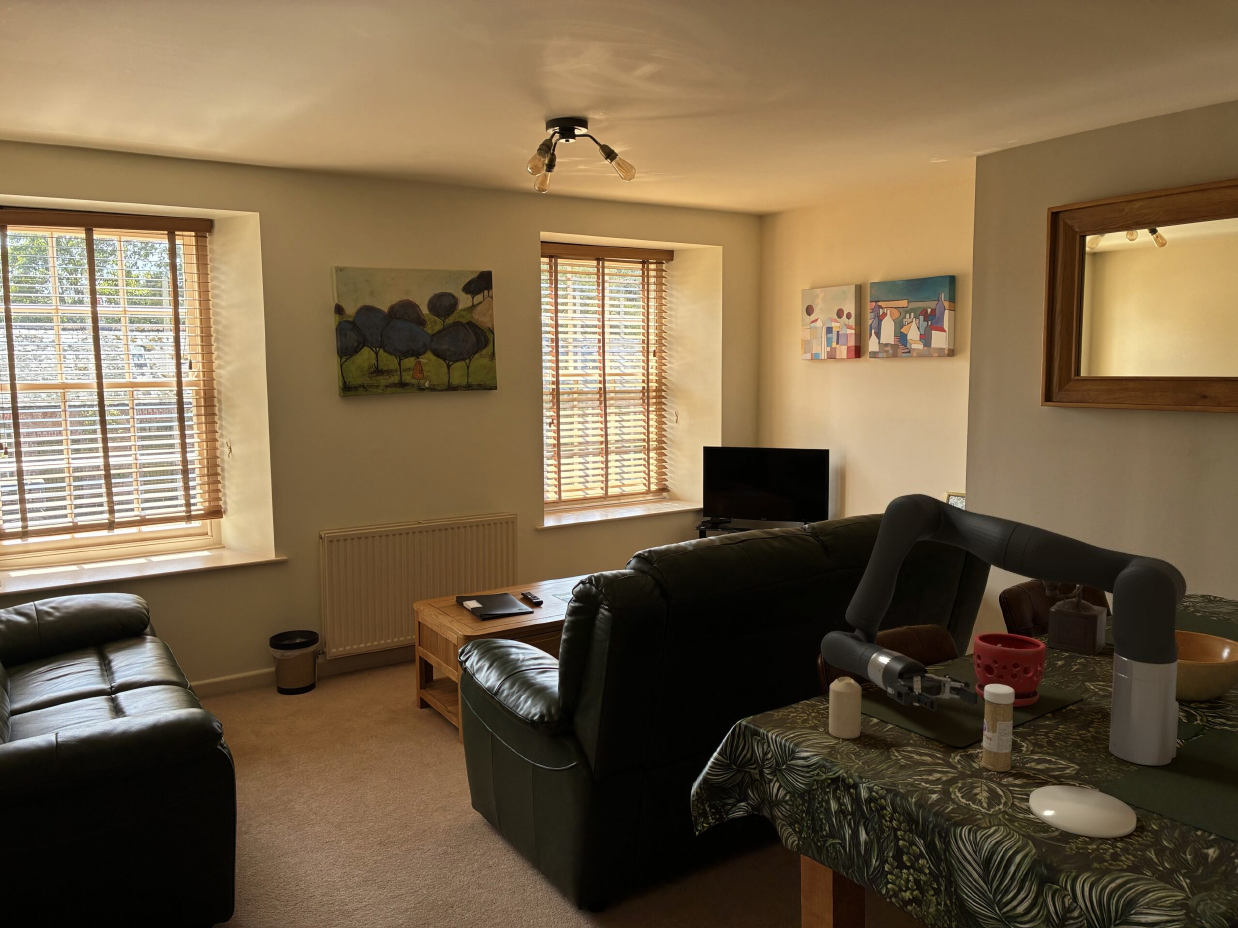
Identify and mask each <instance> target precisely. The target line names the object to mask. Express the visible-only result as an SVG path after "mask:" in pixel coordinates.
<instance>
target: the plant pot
mask: <svg viewBox="0 0 1238 928" xmlns="http://www.w3.org/2000/svg"><path fill="white" fill-rule="evenodd" d="M973 640H974V641H973V651H972V652H973V655H972V656H973V657H972V658H973V666H974V671H975V675H976V677H977V680H978V682H977V683H976V685H975V692H976V693H977V695H978V696H980V697H981V698H983V700H985V698H984V689H985V686H986V685H989V684H1001V685H1006V686H1009V687H1011V688H1012V689H1014V692H1015V694H1014V703H1013V707H1025V706H1029V705H1033V704H1035V703H1036V702H1037V701H1038V700H1039V697H1040V693H1039V691H1037V690H1036V689H1037V688H1038V686H1039V684H1040V682H1041V681H1042V679H1043V675H1044V670H1045V664H1046V655H1047V645H1046V644H1045V643H1044V642H1042V641H1041V640H1039V639H1037V638H1032V637H1028V636H1026V635H1025V636H1024V635H1019V634H1014V633H1002V632H1001V633H1000V632H989V633H987V632H986V633H979V634H977V635H975V637H974V639H973ZM1000 645H1001V646H1000Z"/></svg>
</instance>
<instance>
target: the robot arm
mask: <svg viewBox="0 0 1238 928" xmlns="http://www.w3.org/2000/svg"><path fill="white" fill-rule="evenodd" d="M881 519H882V520H881V522H880V527H879V529H878V533H877V538H876V540H875V543H874V546H873V548H872V549H873V550H872V552H871V555H870V558H869V561H868V564H867V567H866V568H865V571H864V573H863V576H862V577H861V580H860V582H859V584H858V587H857V589H856V590H855V592H854V595H853V596H852V598H851V601H850V603H849V605H848V607H847V608H846V612H845V620H846V622H847V623H848V624H849V625H850V626H852V627H853V628H855V631H854V633H853V632H847V631H846V632H845V631H841V630H832V631H830V632H828V633H827V634H825V636H824V637H823V638H822V640H821V643H820V652H821V655H822V657H823V659H824V660H825V661H826V662H827V663H828V664H830V665H831V666H833V667H835V668H837V669H841V670H842V671H848V672H849V673H853V674H857V675H858V676H861V677H863V679H866V680H868V681H870V682H872V683H874V684H875V685H877V686H878V687H879V688H881V689H882V690H884V691H886V693H887V694H886V695H887V696H888V697H889V698H891V699H893V700H895V701H896V702H897V703H900V704H902V705H903V706H905V707H906V706H911V704H913V705H914V706H921V707H923V708H925V709H927V710H929V711H931V712H937V711H938V710H939V705H938V704H939V700H938V699H937V698H941V699H946V700H948V699H950V698H956V699H959V700H961V701H963V702H966V703H968V704H970V705H972V706H974V705H977V704H978V700H979V699H978V697H979V694H978V693H977V691H974V690H972V689H970V685H971V682H970V681H968V680H966V679H963V678H961V677H959V676H955V675H953V674H952V673H948V672H945V673H943V677H942V676H941V677H940V676H936V675H935V674H931V673H929V671H928V670H927V668H926V667H925V665H924V664H923V663H921V662H920V661H918V660H915V659H913V658H911V657H908V656H906V655H904V654H902V653H900V652H898V651H893V650H890V649H888V648H886V647H883V646H881V645H878V644H877V639H878V633H879V627H880V624H881V623H882V622H883V621H882V620H883V619H884V617H885V614H886V612H887V611H888V609H889V607H890V605H891V602H892V600H893V597H894V594H895V591H896V583H897V578H898V574H899V571H900V568H901V566H902V563H903V562H904V560H905V558H906V556H907V555H908V554H909V552H910V551H911V549H912V547H914V546H915V544H916V543H917V542H920V541H931V542H938V543H942V544H947V545H950V546H954V547H958V548H960V549H963V550H965V551H968V552H970V553H971V554H973V555H975V556H976V557H977V558H979V559H980V560H982V561H984V562H986V563H987V564H990V565H991V566H993V567H995V568H997V569H1001V570H1003V571H1005V572H1009V573H1012V574H1016V575H1018V576H1022V577H1025V578H1028V579H1032V580H1037V581H1042V582H1043V581H1048V582H1057V583H1061V584H1067V585H1083V587H1088V588H1089V587H1090V588H1093V589H1097V590H1100V591H1103V592H1106V593H1109V594H1111V595H1112V603H1111V604H1112V606H1111V607H1112V608H1111V634H1112V639H1113V643H1114V648H1113V649H1114V650H1113V652H1114V653H1113V667H1112V668H1113V669H1112V670H1113V671H1112V690H1111V691H1112V692H1111V707H1110V708H1111V709H1110V727H1109V728H1110V729H1109V740H1108V741H1109V744H1108V745H1109V746H1108V750H1109V752H1110V753H1111V754H1113V756H1115V757H1117V758H1119V759H1121V760H1124V761H1126V762H1130V763H1134V764H1139V765H1143V766H1164V765H1168V764H1170V763H1171V762H1172V760H1173V758H1176V757H1177V742H1178V741H1177V740H1178V724H1179V723H1178V722H1179V706H1180V705H1179V702H1178V701H1176V697H1177V696H1176V694H1177V692H1176V691H1177V676H1178V663H1179V662H1178V658H1179V645H1178V642H1177V641H1176V640H1177V639H1176V619H1177V607H1178V605H1180V604H1181V602H1182V601H1183V599H1184V598H1185V596H1186V593H1187V582H1186V579H1185V577H1184V575H1183V573H1182V572H1181V571H1180V570H1179V569H1178V568H1177V567H1176V566H1174V565H1173V564H1172V563H1170V562H1168V561H1166V560H1163V559H1160V558H1156V557H1151V556H1145V555H1139V554H1132V553H1128V552H1122V551H1118V550H1117V551H1116V550H1113V549H1108V548H1104V547H1100V546H1097V545H1093V544H1090V543H1087V542H1086V541H1085V542H1084V541H1082V540H1079V539H1076V538H1073V537H1070V536H1066V535H1063V534H1061V533H1057V532H1054V531H1051V530H1048V529H1044V528H1041V527H1038V526H1034V525H1030V524H1027V523H1023V522H1020V521H1015V520H1011V519H1006V518H1002V517H998V516H993V515H988V514H983V513H979V512H978V513H976V512H974V511H970V510H967V509H964V508H961V507H958V506H956V505H952V504H951V503H948V502H945V501H943V500H940V499H938V498H935V497H933V496H930V495H928V494H922V493H910V494H906V495H905V494H904V495H901V496H900V495H899V496H897V497H895V498H894V499H892V500H891V501H890V502H889V503H888V505H887V506H886V508H885V510H884V513H883V516H882V518H881ZM942 688H944V691H945V692H942V690H943V689H942Z"/></svg>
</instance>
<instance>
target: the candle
mask: <svg viewBox="0 0 1238 928" xmlns="http://www.w3.org/2000/svg"><path fill="white" fill-rule="evenodd" d="M828 703H829V704H828V705H829V708H828V713H829V714H828V716H829V717H828V732H829V734H830V735H831V736H834V737H836V738H840V739H847V740H848V739H856V738H859V736H860V735H861V727H862V725H861V724H862V723H861V721H862V720H861V719H862V718H861V717H862V687H861V685H860V684H859V683H857V681H855V680H854V679H853V678H851V677H850V676H840V677H839V678H836V679H835V680H834V681H833V682H831V683H830V685H829V702H828Z"/></svg>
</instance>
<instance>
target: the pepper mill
mask: <svg viewBox="0 0 1238 928" xmlns="http://www.w3.org/2000/svg"><path fill="white" fill-rule="evenodd" d="M1042 583H1043V586H1044V588H1045V595H1046V596H1048V597H1052V598H1053V597H1054V598H1058V599H1062V600H1061V601H1057V602H1055V604H1054V605H1053V606H1051V607H1050V608H1049V609H1048V625H1047V626H1048V627H1047V643H1046V648H1047V647H1048V648H1051V649H1054V650H1058V651H1062V652H1063V651H1064V652H1068V653H1073V654H1080V655H1085V656H1090V657H1091V656H1092V657H1094V656H1096V655H1097V654H1099V652H1101V651H1100V650H1102V649H1103V648H1104V647H1105V646H1106V630H1107V629H1106V626H1107V611H1108V609H1107V607H1103V606H1098V605H1093V604H1091V603H1090V602H1089V601H1086V600H1083V599H1082V589H1083V588H1084V586H1083V585H1076V584H1075V585H1076V586H1075V587H1076V588H1075V589H1074V590H1073V591H1072V592H1071V593H1069V594H1060V592H1059V591H1058V588H1059V587H1060V586H1061V584H1062V583H1057V582H1048V581H1042ZM1074 597H1075V598H1074ZM1095 654H1096V655H1095Z"/></svg>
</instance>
